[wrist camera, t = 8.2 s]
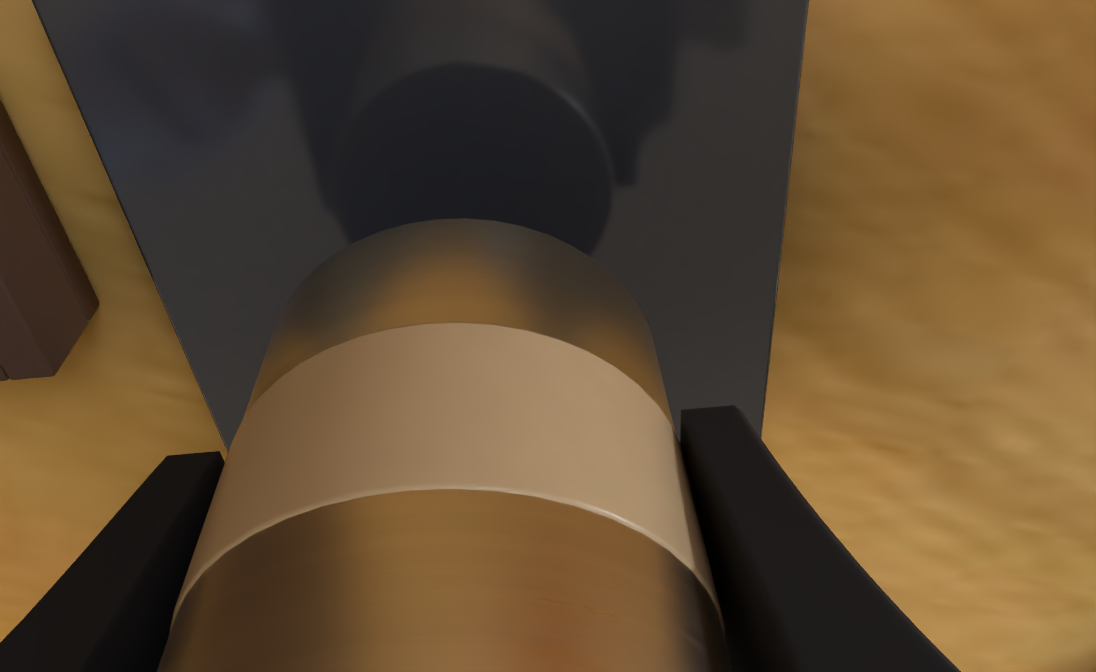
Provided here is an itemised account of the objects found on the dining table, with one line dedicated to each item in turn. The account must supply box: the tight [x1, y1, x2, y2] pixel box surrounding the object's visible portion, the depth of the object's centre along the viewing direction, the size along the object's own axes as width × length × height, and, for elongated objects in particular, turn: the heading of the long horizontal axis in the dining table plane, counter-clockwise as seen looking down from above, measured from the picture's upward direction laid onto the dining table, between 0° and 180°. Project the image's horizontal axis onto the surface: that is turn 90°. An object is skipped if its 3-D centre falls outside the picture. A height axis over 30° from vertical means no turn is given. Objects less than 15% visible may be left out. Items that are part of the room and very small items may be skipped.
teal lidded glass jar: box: [157, 218, 732, 672], centre depth 9 cm, size 5×5×7 cm
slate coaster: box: [32, 0, 809, 452], centre depth 14 cm, size 10×10×1 cm
